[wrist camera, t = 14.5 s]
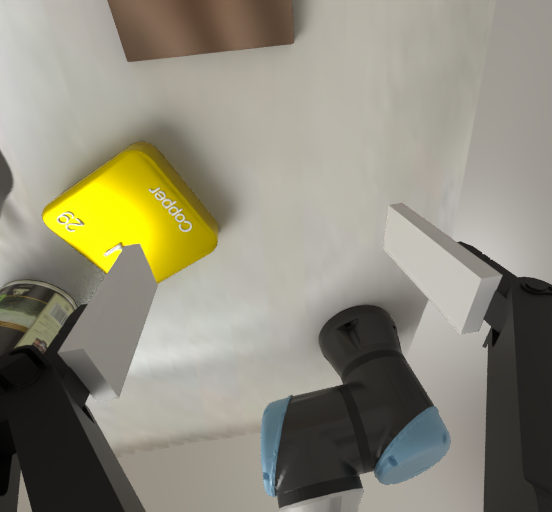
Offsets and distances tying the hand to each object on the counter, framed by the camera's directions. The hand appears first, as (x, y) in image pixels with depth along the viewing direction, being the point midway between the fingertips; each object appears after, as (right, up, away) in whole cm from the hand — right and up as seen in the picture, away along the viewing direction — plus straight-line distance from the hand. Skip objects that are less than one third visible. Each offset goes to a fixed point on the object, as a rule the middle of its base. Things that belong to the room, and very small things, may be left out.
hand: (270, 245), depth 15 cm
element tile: (-17, +5, +22) cm, 29 cm away
